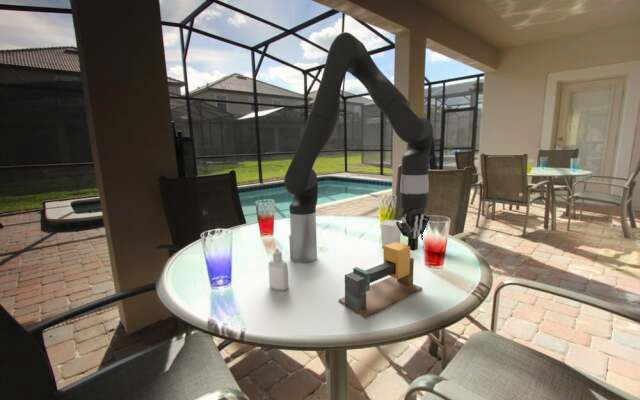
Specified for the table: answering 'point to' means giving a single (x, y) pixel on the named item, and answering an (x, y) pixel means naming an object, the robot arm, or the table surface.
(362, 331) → the table surface
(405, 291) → the wooden slider rail stand
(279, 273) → the eye dropper bottle
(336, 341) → the table surface
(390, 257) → the yellow slider block
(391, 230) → the white cup
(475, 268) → the table surface
